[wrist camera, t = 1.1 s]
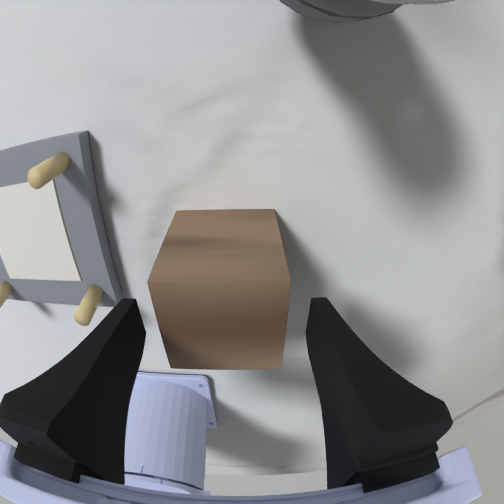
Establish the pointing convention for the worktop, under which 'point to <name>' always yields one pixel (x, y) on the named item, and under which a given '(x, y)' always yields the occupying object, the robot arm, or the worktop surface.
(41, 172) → the standoff board
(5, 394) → the robot arm
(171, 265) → the walnut block
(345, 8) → the light bulb
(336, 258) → the worktop surface
